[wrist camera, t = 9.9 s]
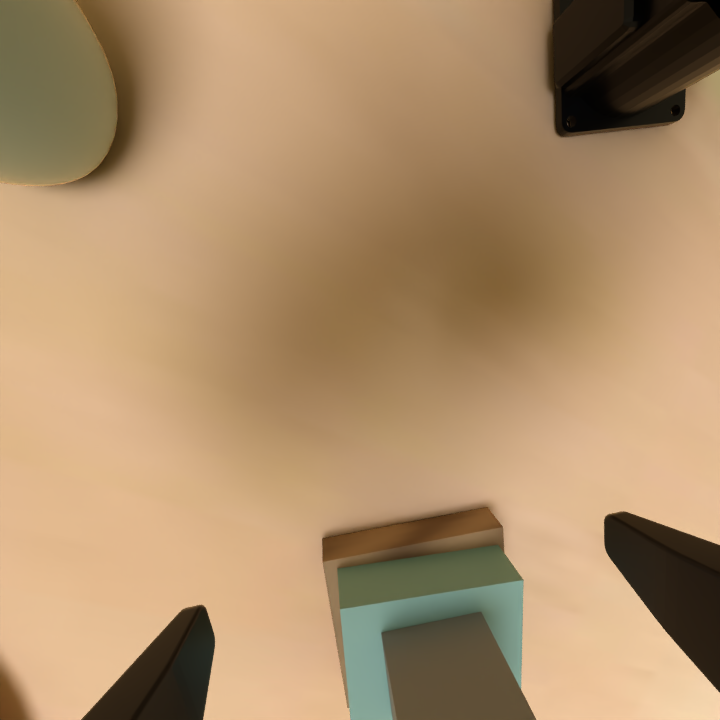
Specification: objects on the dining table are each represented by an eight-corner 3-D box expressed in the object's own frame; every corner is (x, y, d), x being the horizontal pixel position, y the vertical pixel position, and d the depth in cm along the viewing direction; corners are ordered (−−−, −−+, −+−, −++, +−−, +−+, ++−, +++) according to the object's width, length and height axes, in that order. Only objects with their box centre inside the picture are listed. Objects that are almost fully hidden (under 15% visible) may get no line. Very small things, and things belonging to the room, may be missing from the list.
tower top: (498, 544, 20) (523, 580, 17) (497, 674, 21) (520, 723, 19) (337, 568, 19) (339, 609, 16) (350, 702, 21) (354, 757, 18)
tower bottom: (482, 500, 22) (502, 526, 20) (490, 632, 24) (509, 670, 22) (322, 530, 21) (322, 562, 19) (344, 664, 23) (347, 708, 21)
